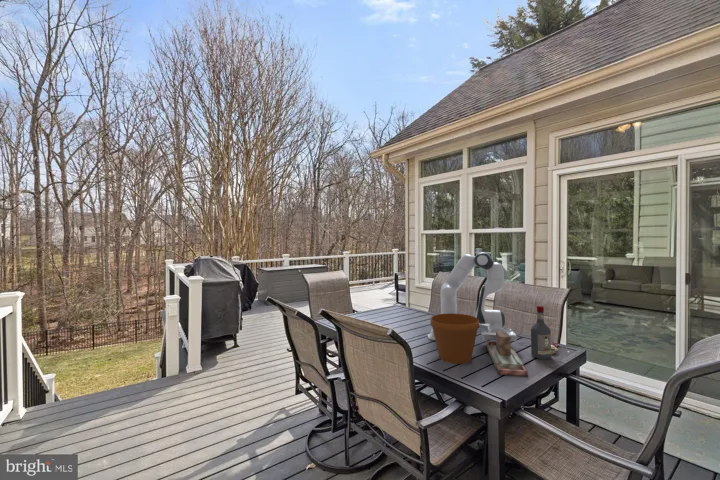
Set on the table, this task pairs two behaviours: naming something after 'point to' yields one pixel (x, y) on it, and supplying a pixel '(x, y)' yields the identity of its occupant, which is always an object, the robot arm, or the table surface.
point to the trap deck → (506, 361)
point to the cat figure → (553, 348)
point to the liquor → (540, 337)
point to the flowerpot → (455, 336)
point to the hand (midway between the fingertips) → (501, 339)
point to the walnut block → (503, 343)
